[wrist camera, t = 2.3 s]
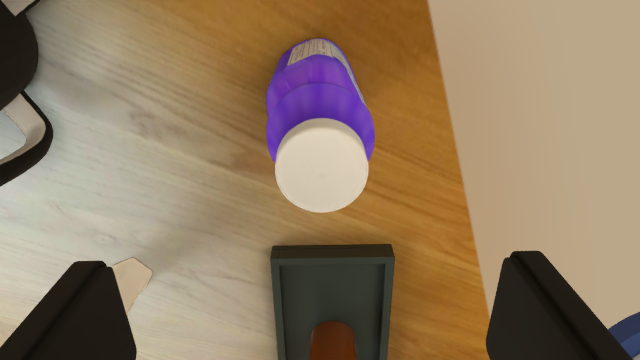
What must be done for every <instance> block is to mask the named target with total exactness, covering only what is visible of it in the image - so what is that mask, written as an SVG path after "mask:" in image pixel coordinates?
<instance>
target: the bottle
mask: <svg viewBox="0 0 640 360" xmlns="http://www.w3.org/2000/svg"><path fill="white" fill-rule="evenodd" d="M266 104H267V113H268V122H267V144H268V148H269V152H270V155H271V157H272V159H273V161H274V162H275V175H276V181H277V184H278V186H279V188H280V190H281V192H282V193H283V194H284V195H285V197H286V198H287V199H288V200H289V201H291V202H292V203H293V204H295V205H296V206H298V207H300V208H302V209H305V210H308V211H312V212H332V211H336V210H339V209H341V208H344V207H345V206H347V205H349V204H350V203H352V202H353V201H354V200H355V199H356V198H357V197H358V196H359V195H360V193H361V192H362V190H363V189H364V187H365V184H366V181H367V177H368V171H369V169H368V161H369V159H370V157H371V154H372V152H373V148H374V138H375V134H374V126H373V120H372V117H371V115H370V112H369V110H368V109H367V107H366V104H365V101H364V99H363V96H362V94H361V92H360V90H359V88H358V86H357V83H356V79H355V76H354V74H353V71H352V68H351V66H350V64H349V62H348V60H347V58H346V56H345V55H344V53H343V52H342V51H341V50H340V48H339V47H338V46H337V45H336V44H335V43H333V42H332V41H330V40H327V39H324V38H315V39H310V40H305V41H303V42H301V43H299V44H296V45H294V46H293V47H292V48H291V49H289V50H288V51H286V52H285V53H284V54H283V56H282V57H281V59H280V61H279V63H278V65H277V68H276V70H275V72H274V75H273V77H272V79H271V81H270V84H269V86H268V90H267V97H266Z"/></svg>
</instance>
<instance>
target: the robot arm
mask: <svg viewBox="0 0 640 360" xmlns="http://www.w3.org/2000/svg"><path fill="white" fill-rule="evenodd" d="M486 348H487V352H488V355H489V357H490V359H491V360H640V353H639V354H638V355H637V356H635V357H634V358H633V359H632V357H631V356H630V355H629V354H628V353H627V352H626V350H625V349H624V348H623V347H622V346H621V345H620V343H619V342H618V341H617V340H616V339H615V338H614V336H613V335H612V334H611V333H610V332H609V331H608V329H607V328H606V327H605V326H604V325H603V324H602V322H601V321H600V320H599V319H598V318H597V317H596V315H595V314H594V313H593V312H592V311H591V309H590V308H589V307H588V306H587V305H586V304H585V302H584V301H583V300H582V299H581V298H580V297H579V295H578V294H577V293H576V292H575V291H574V290H573V288H572V287H571V286H570V285H569V284H568V283H567V281H566V280H565V279H564V278H563V277H562V276H561V274H560V273H559V272H558V271H557V270H556V269H555V267H554V266H553V265H552V264H551V263H550V262H549V260H548V259H547V258H546V257H545V256H544V254H542V253H541V252H540V251H514V252H512V254H511V255H510V258H505V259H504V261H503V264H502V269H501V273H500V278H499V282H498V287H497V292H496V296H495V300H494V306H493V310H492V314H491V319H490V323H489V328H488V332H487V337H486ZM136 353H137V352H136V345H135V342H134V338H133V335H132V332H131V328H130V325H129V321H128V318H127V315H126V311H125V308H124V304H123V301H122V298H121V294H120V291H119V287H118V284H117V281H116V277H115V274H114V271H113V269H112V268H111V267H107V266H106V264H105V263H104V262H103V261H77V262H74V263H73V264H72V265H71V266H70V267H69V268H68V270H67V271H66V272H65V273H64V274H63V275H62V277H61V278H60V279H59V280H58V281H57V282H56V284H55V285H54V286H53V287H52V288H51V289H50V290H49V292H48V293H47V294H46V295H45V296H44V297H43V299H42V300H41V301H40V302H39V303H38V304H37V306H36V307H35V308H34V309H33V310H32V311H31V313H30V314H29V315H28V316H27V317H26V318H25V319H24V321H23V322H22V323H21V324H20V325H19V326H18V328H17V329H16V330H15V331H14V332H13V333H12V335H11V336H10V337H9V338H8V339H7V340H6V342H5V343H4V344H3V345H2V346H1V347H0V360H136Z"/></svg>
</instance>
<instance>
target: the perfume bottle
mask: <svg viewBox="0 0 640 360" xmlns="http://www.w3.org/2000/svg"><path fill="white" fill-rule="evenodd" d="M112 269H113V271H114V274H115V277H116V281H117V284H118V287H119V291H120V294H121V298H122V301H123V304H124V308H125V311H126V315H127V316H128V314H129V312H130V310H131V308H132V306H133V304H134V301H135V299H136V297H137V295H138V294H139V293H141V292H142V291H143V290H144V289H145V288H146V286H147V284H148V282H149V280H150V278H151V275H152V271H151V270H150V269H148V268H147V267H146V266H144V265H143V264H141V263H140V262H139V261H137V260H136V259H134V258H130V259H127V260H125V261H123V262H121V263H118V264H116V265H114V266H113V268H112Z"/></svg>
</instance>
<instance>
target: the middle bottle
mask: <svg viewBox="0 0 640 360" xmlns="http://www.w3.org/2000/svg"><path fill="white" fill-rule="evenodd" d="M309 360H358V356H357V347H356V338H355V333H354V331H353V330H352V329H351V328H350V327H349V326H348V325H346V324H344V323H341V322H337V321H329V322H324V323H321V324H319V325H318V326H316V327H315V328H314V329H313V330H312V332H311V334H310V337H309Z"/></svg>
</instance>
